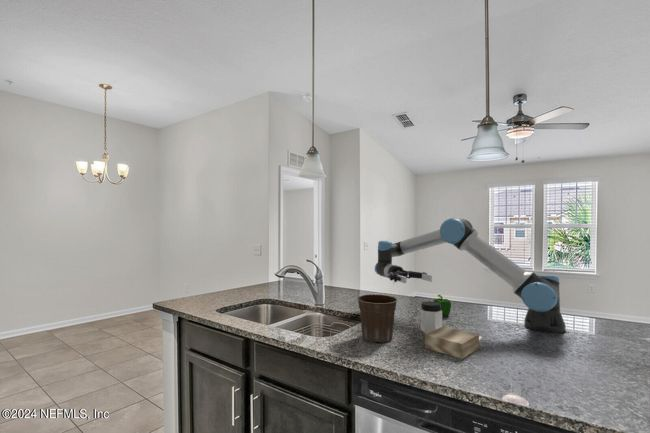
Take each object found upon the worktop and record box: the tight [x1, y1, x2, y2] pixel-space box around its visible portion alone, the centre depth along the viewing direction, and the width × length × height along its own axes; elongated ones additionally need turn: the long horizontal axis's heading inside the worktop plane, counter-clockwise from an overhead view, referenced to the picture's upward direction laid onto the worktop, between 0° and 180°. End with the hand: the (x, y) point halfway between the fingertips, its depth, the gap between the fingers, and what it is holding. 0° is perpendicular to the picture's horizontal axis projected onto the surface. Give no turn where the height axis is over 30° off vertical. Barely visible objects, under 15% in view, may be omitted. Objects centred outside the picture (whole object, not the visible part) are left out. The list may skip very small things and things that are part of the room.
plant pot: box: [356, 293, 398, 344], centre depth 133 cm, size 16×16×16 cm
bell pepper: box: [432, 294, 452, 317], centre depth 166 cm, size 8×8×10 cm
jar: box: [420, 300, 443, 334], centre depth 141 cm, size 9×8×12 cm
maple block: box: [424, 325, 480, 360], centre depth 122 cm, size 14×14×5 cm
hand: (418, 279), depth 149 cm, fingers open, 13 cm apart
